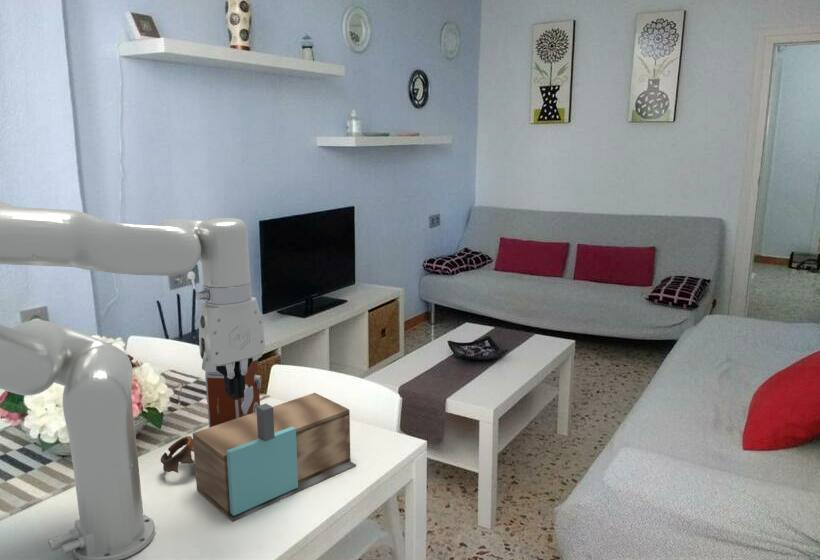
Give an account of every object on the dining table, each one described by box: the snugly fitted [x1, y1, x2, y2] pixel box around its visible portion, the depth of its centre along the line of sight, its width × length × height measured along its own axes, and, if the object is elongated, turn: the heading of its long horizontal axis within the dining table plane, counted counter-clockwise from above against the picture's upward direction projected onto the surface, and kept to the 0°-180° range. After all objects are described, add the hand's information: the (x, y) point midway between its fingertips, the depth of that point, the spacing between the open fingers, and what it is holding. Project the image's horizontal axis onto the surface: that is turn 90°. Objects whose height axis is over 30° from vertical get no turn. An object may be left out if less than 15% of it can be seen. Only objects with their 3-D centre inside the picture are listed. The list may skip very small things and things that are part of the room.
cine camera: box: [204, 358, 262, 428], centre depth 144 cm, size 9×19×20 cm, turn 174°
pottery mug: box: [160, 435, 195, 474], centre depth 129 cm, size 12×9×8 cm
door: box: [226, 403, 298, 516], centre depth 115 cm, size 14×2×18 cm, turn 134°
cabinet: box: [192, 392, 357, 522], centre depth 125 cm, size 28×14×12 cm, turn 134°
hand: (235, 396), depth 109 cm, fingers closed
